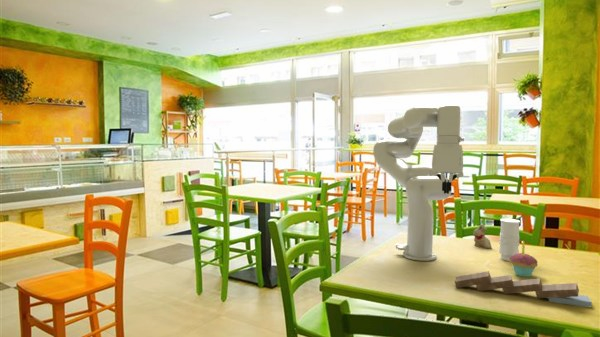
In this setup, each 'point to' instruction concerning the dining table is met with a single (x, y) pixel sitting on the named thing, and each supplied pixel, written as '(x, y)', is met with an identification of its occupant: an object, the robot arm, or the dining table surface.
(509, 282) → the domino
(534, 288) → the domino
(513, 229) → the candle
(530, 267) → the cupcake
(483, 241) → the chocolate bunny
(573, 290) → the domino
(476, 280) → the domino
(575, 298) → the domino
